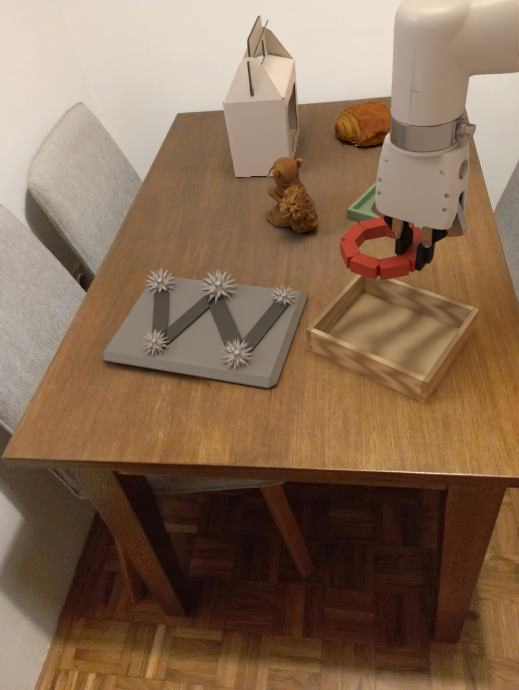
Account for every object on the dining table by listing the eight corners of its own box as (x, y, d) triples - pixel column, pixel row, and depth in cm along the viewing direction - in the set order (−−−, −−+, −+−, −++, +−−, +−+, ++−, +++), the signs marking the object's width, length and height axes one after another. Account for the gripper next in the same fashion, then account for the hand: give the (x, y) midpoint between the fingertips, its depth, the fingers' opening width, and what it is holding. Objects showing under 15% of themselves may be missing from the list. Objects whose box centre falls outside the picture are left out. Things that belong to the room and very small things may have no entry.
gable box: (291, 176, 120) (279, 42, 100) (235, 178, 123) (212, 48, 103) (300, 131, 135) (291, 7, 115) (249, 134, 138) (232, 13, 117)
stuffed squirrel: (305, 199, 113) (300, 141, 103) (333, 233, 103) (331, 172, 94) (261, 213, 112) (253, 155, 102) (286, 248, 102) (280, 188, 92)
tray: (454, 198, 106) (455, 189, 105) (418, 239, 99) (419, 230, 97) (385, 181, 114) (385, 172, 113) (347, 218, 106) (346, 209, 105)
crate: (473, 333, 81) (479, 308, 77) (424, 407, 73) (428, 383, 69) (362, 291, 91) (362, 267, 87) (308, 352, 83) (305, 329, 79)
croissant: (331, 136, 136) (326, 106, 130) (389, 116, 134) (386, 84, 129) (347, 161, 125) (342, 129, 120) (410, 139, 124) (408, 106, 119)
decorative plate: (101, 365, 87) (86, 335, 82) (156, 281, 100) (145, 251, 95) (275, 394, 78) (270, 363, 73) (309, 298, 91) (307, 266, 86)
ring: (438, 242, 72) (439, 230, 71) (400, 289, 67) (401, 277, 66) (367, 222, 78) (367, 210, 76) (327, 263, 73) (326, 252, 71)
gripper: (513, 124, 55) (483, 263, 68) (376, 102, 63) (374, 231, 76) (485, 157, 51) (459, 298, 64) (343, 130, 59) (346, 260, 72)
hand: (413, 261), depth 70 cm, fingers closed on ring, 2 cm apart
